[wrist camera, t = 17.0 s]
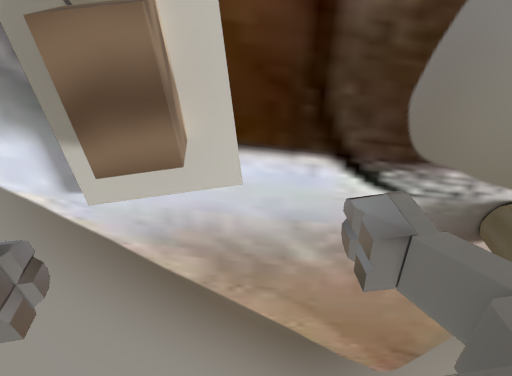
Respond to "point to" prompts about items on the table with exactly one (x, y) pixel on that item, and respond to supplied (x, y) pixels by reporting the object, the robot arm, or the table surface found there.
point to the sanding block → (114, 83)
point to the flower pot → (498, 231)
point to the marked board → (189, 91)
